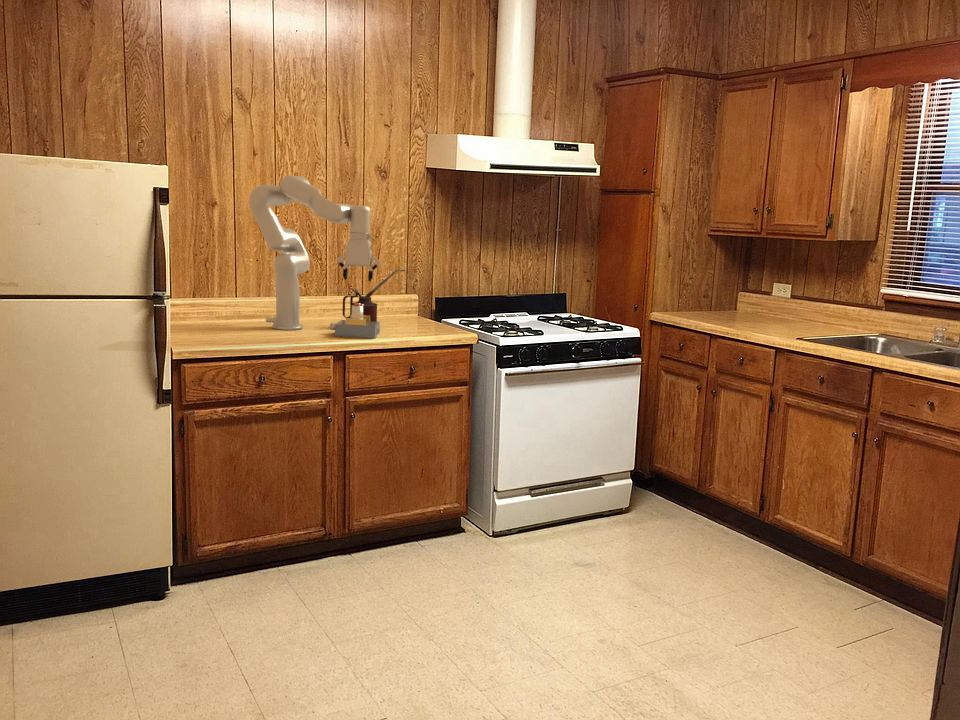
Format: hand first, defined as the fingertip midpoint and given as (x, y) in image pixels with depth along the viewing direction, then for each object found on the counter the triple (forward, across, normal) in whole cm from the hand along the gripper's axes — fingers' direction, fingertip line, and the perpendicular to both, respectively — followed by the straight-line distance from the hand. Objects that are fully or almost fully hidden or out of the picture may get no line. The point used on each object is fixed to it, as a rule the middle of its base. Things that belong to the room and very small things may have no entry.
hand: (357, 280), depth 337 cm
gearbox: (+22, +1, 0) cm, 22 cm away
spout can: (+21, -1, 0) cm, 21 cm away
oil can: (+23, -4, -26) cm, 35 cm away
